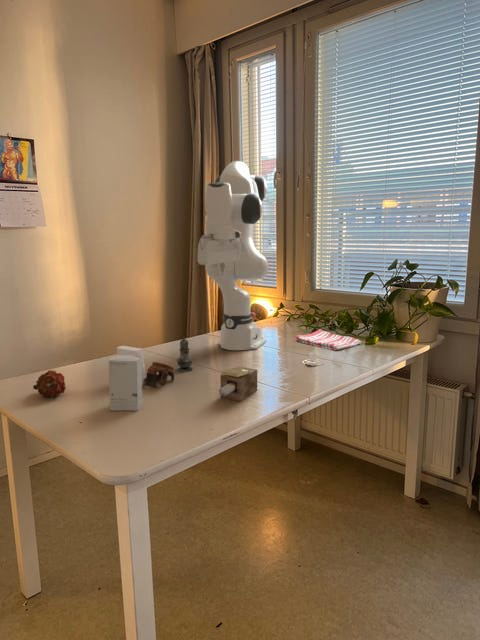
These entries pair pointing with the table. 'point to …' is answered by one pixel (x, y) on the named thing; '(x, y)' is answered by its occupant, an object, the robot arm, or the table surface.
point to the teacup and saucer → (312, 359)
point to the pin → (228, 388)
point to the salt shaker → (184, 357)
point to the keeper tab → (235, 372)
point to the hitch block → (241, 384)
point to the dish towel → (328, 340)
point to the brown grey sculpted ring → (161, 377)
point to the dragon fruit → (50, 384)
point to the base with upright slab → (133, 352)
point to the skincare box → (125, 383)
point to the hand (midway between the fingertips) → (219, 276)
